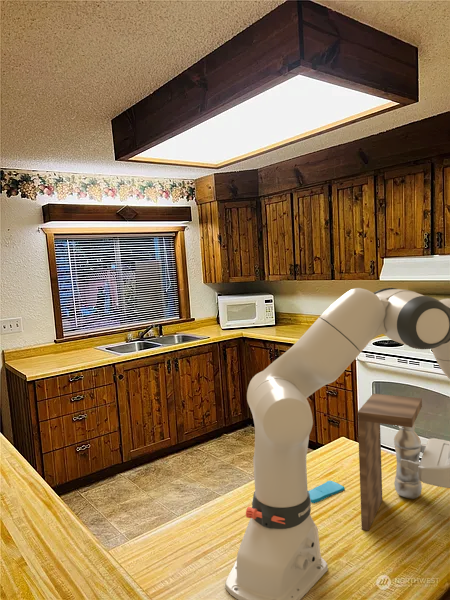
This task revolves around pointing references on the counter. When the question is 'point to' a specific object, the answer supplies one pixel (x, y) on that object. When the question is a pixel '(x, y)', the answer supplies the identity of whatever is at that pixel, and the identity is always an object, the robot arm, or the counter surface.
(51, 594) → the counter surface
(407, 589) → the counter surface
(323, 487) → the sponge
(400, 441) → the plastic bottle
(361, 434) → the counter shelf
